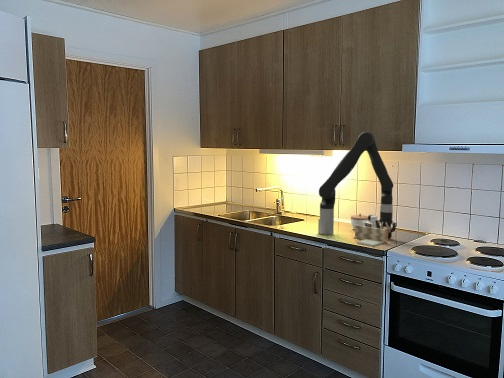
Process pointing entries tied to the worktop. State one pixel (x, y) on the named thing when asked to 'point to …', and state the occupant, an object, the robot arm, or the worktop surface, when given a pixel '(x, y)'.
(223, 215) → the worktop surface
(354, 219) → the lidded bowl
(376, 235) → the birch screen
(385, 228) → the terracotta block
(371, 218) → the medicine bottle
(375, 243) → the pale green pad
